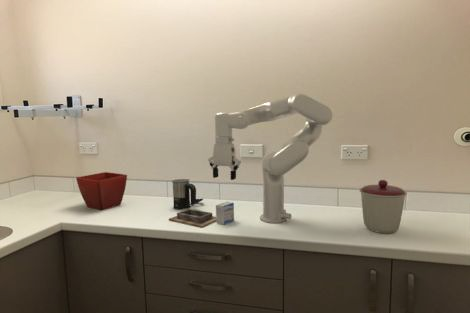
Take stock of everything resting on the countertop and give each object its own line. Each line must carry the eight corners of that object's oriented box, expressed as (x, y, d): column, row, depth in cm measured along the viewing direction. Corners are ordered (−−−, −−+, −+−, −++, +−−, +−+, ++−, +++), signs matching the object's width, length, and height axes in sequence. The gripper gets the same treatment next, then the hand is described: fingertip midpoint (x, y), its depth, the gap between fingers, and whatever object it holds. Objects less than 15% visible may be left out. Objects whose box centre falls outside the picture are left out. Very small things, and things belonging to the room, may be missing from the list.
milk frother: (170, 209, 177) (168, 181, 175) (181, 201, 192) (180, 176, 191) (195, 210, 174) (194, 182, 172) (205, 203, 189) (204, 177, 187)
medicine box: (223, 225, 151) (223, 206, 150) (216, 223, 153) (215, 204, 152) (234, 220, 157) (234, 202, 156) (226, 219, 159) (226, 201, 158)
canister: (410, 228, 143) (413, 179, 141) (397, 240, 130) (399, 186, 127) (367, 219, 155) (369, 174, 152) (351, 230, 142) (352, 180, 139)
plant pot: (100, 213, 172) (98, 180, 170) (77, 208, 182) (75, 177, 180) (129, 204, 188) (128, 174, 186) (107, 200, 198) (105, 172, 196)
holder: (220, 219, 159) (220, 212, 158) (201, 227, 147) (201, 220, 147) (188, 213, 170) (188, 206, 169) (168, 220, 158) (168, 213, 158)
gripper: (244, 140, 149) (244, 178, 151) (213, 139, 158) (214, 175, 161) (235, 141, 143) (235, 181, 145) (203, 140, 152) (204, 177, 154)
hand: (224, 178), depth 153 cm, fingers open, 9 cm apart
